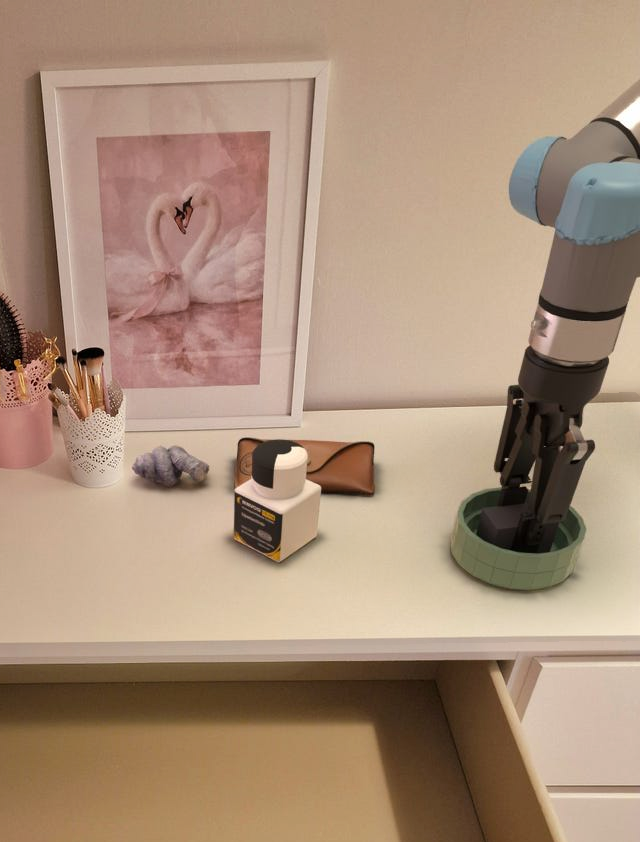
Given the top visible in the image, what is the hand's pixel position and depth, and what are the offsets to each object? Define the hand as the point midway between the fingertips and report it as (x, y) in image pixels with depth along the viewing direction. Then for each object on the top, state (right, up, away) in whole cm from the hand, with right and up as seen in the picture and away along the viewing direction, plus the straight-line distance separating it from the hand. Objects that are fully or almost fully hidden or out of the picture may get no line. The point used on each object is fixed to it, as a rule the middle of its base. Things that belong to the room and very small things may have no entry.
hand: (511, 549), depth 98 cm
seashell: (-38, +10, +15) cm, 42 cm away
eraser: (0, 0, 0) cm, 0 cm away
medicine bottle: (-26, +2, +5) cm, 27 cm away
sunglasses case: (-21, +11, +15) cm, 28 cm away
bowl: (0, -1, +1) cm, 1 cm away
